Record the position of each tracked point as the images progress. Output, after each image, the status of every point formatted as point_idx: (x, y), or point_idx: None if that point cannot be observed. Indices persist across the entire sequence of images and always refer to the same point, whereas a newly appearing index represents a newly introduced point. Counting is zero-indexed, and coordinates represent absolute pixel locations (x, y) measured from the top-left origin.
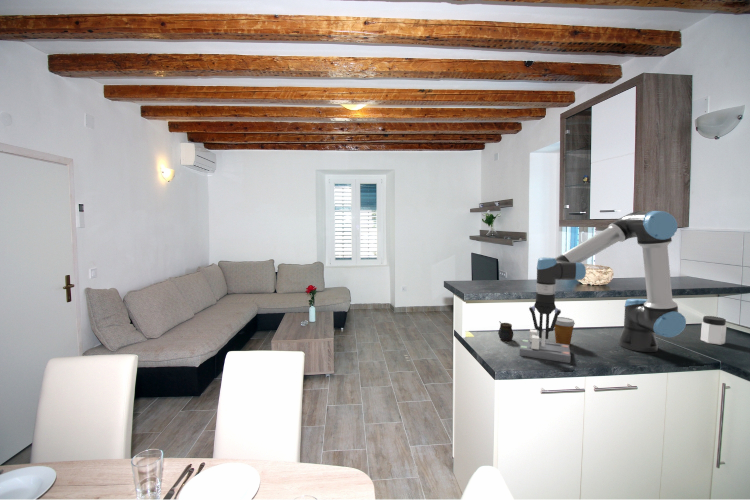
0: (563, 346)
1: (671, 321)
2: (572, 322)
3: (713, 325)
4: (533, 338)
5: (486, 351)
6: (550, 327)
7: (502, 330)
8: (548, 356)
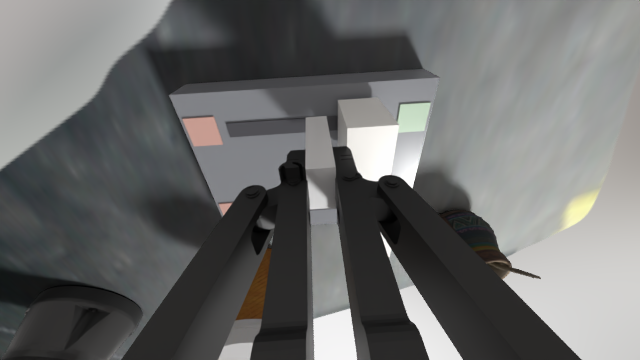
0: None
1: None
2: None
3: None
4: (385, 123)
5: (599, 39)
6: (270, 229)
7: (491, 240)
8: (284, 81)
